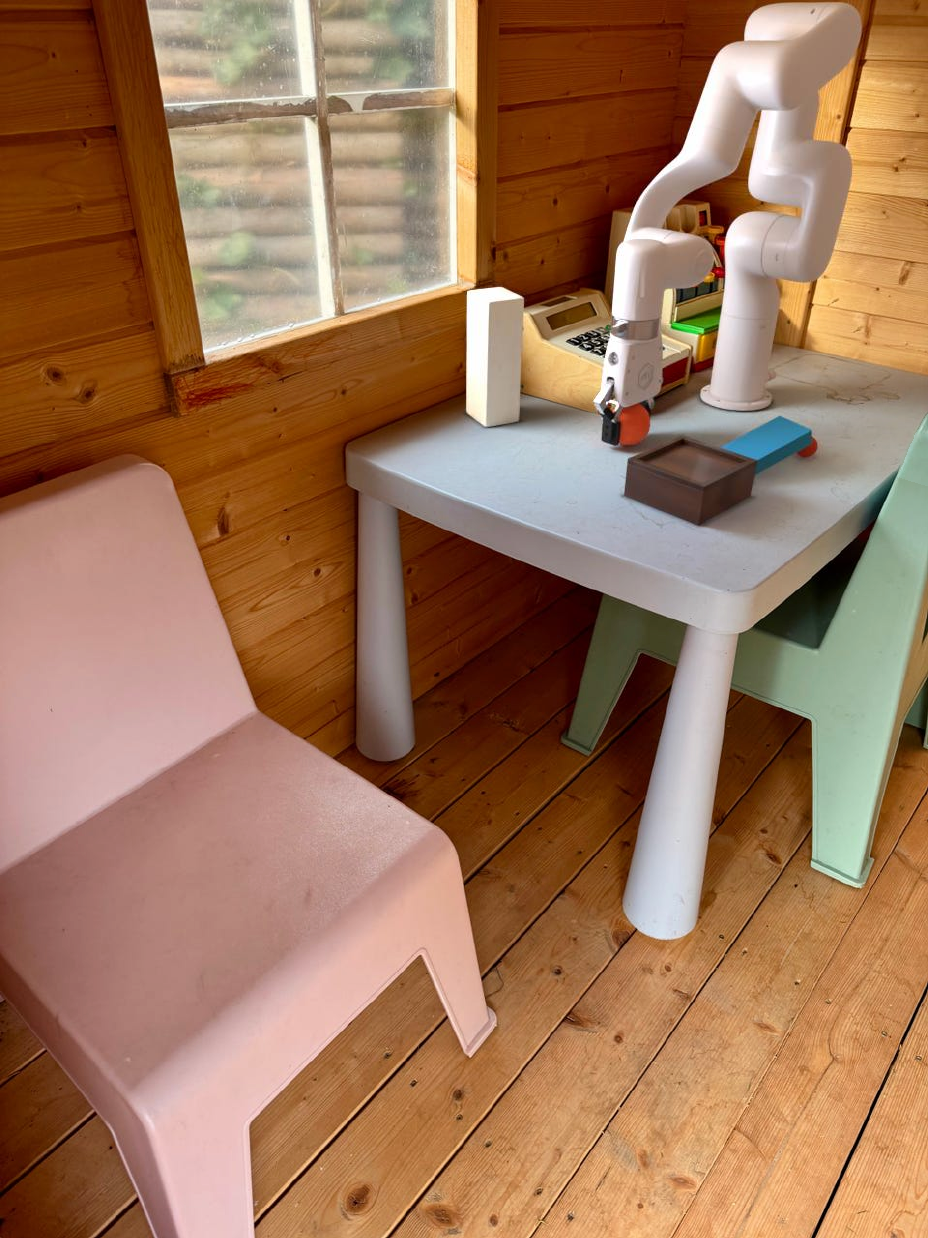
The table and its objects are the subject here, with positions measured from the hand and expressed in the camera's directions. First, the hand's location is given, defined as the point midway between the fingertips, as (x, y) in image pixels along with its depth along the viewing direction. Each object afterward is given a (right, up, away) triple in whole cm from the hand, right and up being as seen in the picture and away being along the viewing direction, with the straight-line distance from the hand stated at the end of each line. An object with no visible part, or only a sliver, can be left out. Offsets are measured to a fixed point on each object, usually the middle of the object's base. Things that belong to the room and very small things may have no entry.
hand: (625, 436), depth 148 cm
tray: (+6, -12, -16) cm, 21 cm away
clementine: (0, -1, +1) cm, 1 cm away
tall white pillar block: (-21, +5, +11) cm, 24 cm away
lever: (+21, -6, -7) cm, 23 cm away
